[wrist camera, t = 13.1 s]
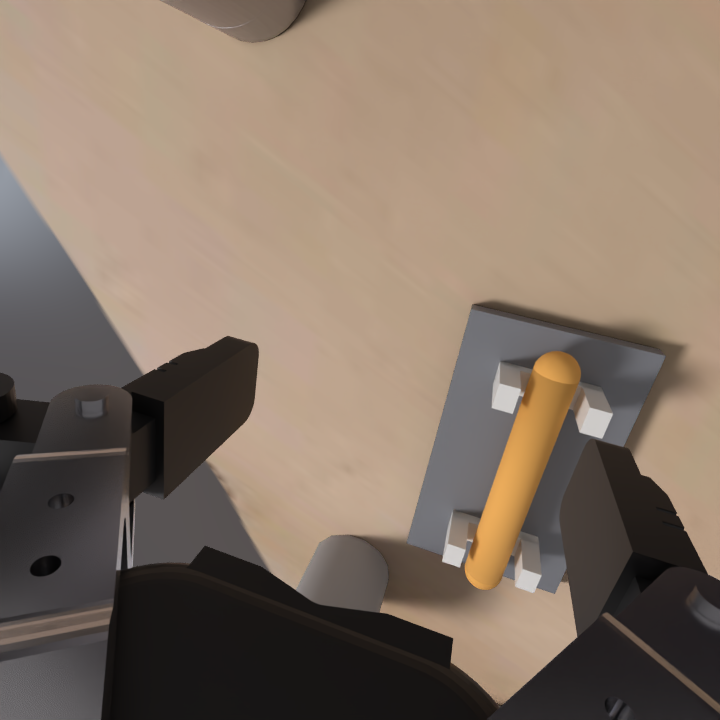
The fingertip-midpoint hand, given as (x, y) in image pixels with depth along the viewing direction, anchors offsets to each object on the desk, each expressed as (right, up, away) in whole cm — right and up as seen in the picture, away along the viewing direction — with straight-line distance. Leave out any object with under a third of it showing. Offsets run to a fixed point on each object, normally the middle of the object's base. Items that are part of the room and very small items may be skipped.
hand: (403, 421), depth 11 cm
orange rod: (+12, -8, +28) cm, 31 cm away
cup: (-2, -21, +40) cm, 45 cm away
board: (+12, -7, +30) cm, 33 cm away
